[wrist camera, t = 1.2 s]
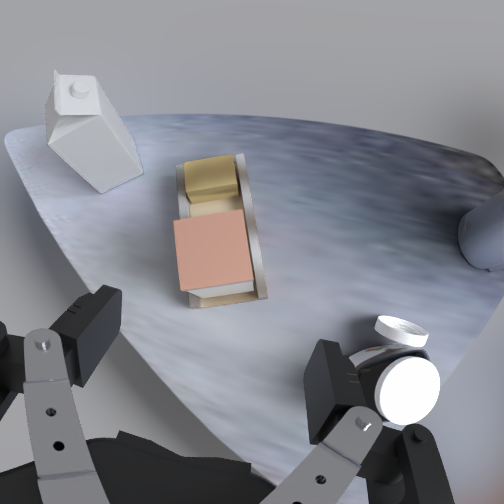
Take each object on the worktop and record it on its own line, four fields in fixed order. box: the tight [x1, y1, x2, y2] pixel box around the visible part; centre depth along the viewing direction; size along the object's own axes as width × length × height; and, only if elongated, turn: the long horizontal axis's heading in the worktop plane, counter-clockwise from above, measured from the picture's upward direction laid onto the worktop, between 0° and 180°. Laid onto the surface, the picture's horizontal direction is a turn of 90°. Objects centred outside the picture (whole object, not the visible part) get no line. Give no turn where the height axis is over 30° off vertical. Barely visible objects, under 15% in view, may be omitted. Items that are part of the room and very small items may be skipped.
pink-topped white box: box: [173, 209, 254, 299], centre depth 33 cm, size 6×6×11 cm
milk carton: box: [46, 70, 143, 194], centre depth 34 cm, size 7×7×19 cm
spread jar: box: [349, 316, 440, 425], centre depth 31 cm, size 12×11×12 cm
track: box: [176, 153, 268, 309], centre depth 38 cm, size 18×9×6 cm, turn 9°
